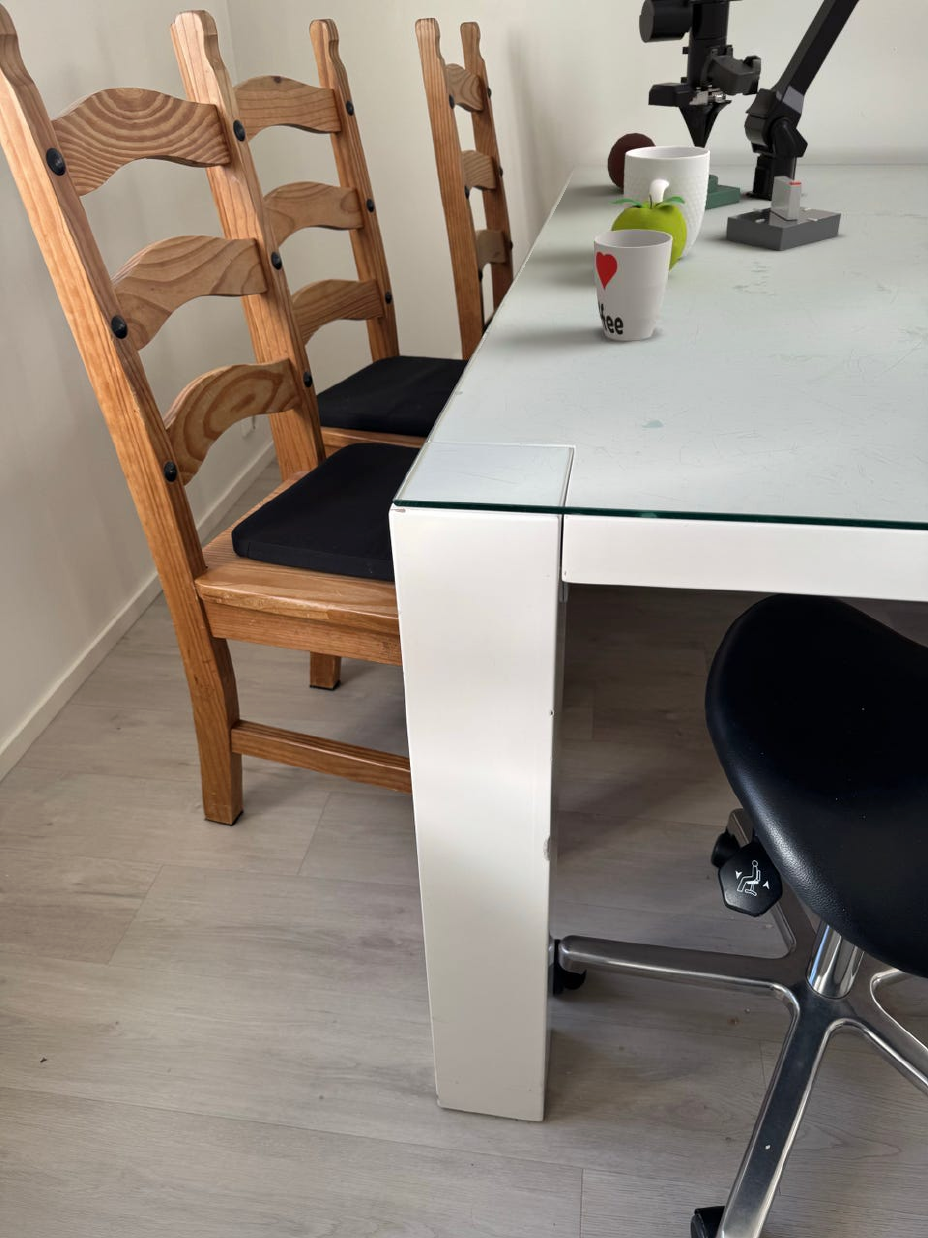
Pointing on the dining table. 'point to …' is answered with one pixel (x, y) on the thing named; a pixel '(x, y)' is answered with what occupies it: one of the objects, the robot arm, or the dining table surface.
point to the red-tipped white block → (786, 197)
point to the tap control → (720, 193)
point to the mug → (670, 181)
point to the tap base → (782, 228)
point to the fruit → (656, 222)
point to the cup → (631, 281)
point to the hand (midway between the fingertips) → (699, 150)
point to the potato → (618, 155)
